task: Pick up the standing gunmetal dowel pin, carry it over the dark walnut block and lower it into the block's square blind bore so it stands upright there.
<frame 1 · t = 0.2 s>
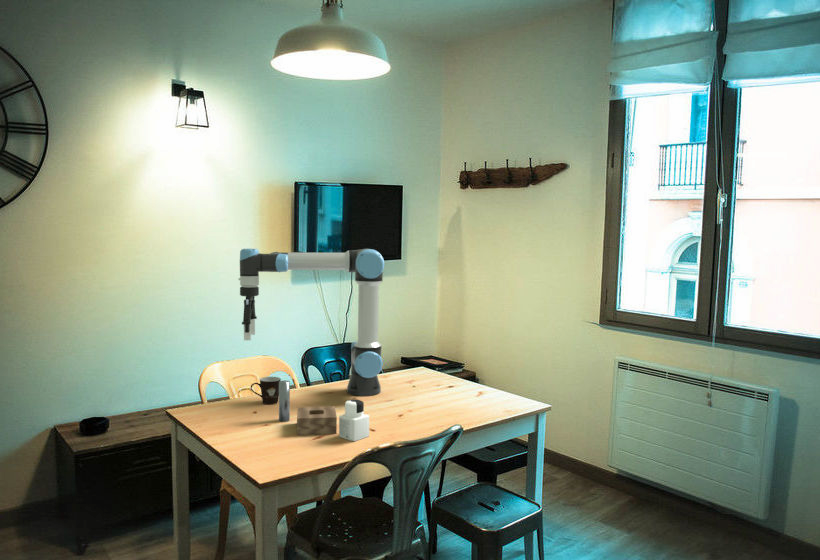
hand: (249, 337, 264), 28 cm above the table, fingers open, 13 cm apart
container: (354, 437, 226), on the table
bore block: (316, 428, 235), on the table
coffee mug: (266, 402, 268), on the table
pin: (284, 420, 244), on the table
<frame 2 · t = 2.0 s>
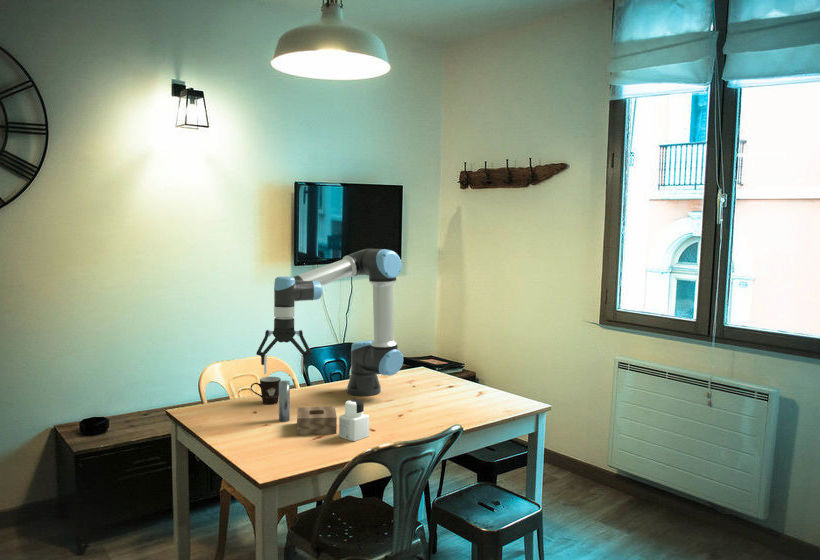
hand: (283, 373, 242), 18 cm above the table, fingers open, 13 cm apart
nothing on the table moved.
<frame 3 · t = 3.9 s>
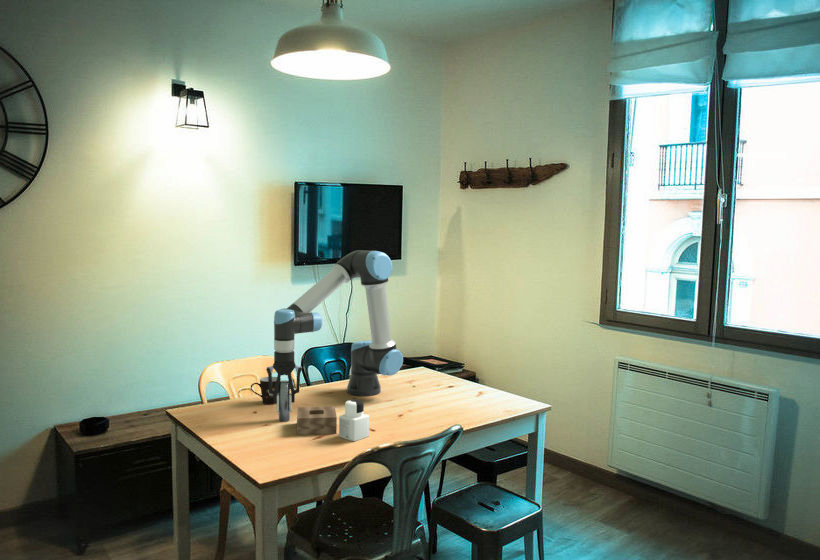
hand: (284, 410, 243), 4 cm above the table, fingers closed on pin, 4 cm apart
pin: (284, 420, 244), on the table, touching gripper
everything else where it was.
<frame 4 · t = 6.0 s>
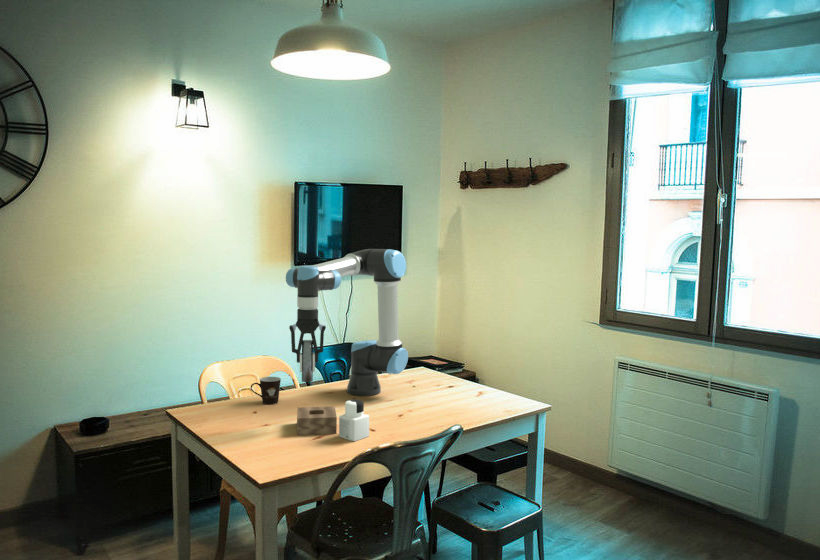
hand: (307, 371, 235), 21 cm above the table, fingers closed on pin, 4 cm apart
pin: (307, 380, 236), point 17 cm above the table, touching gripper
everything else where it was.
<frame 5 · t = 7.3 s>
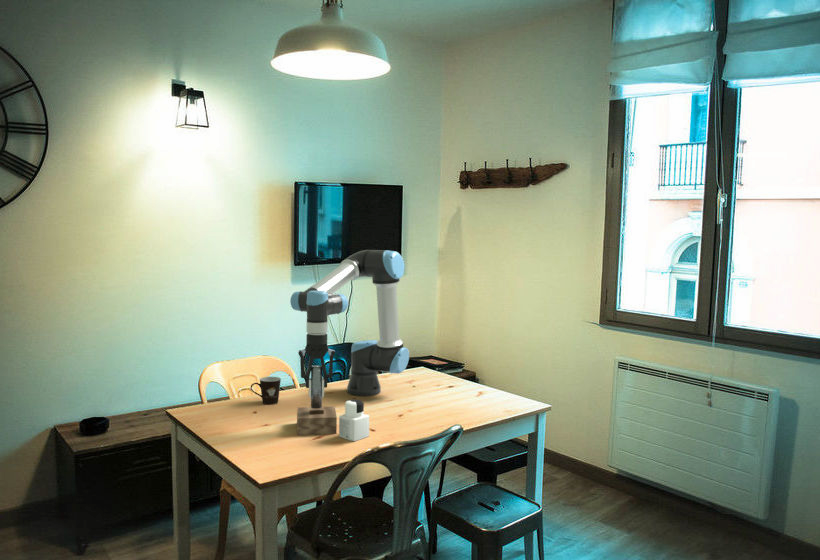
hand: (316, 396, 234), 12 cm above the table, fingers closed on pin, 4 cm apart
pin: (316, 406, 234), point 8 cm above the table, touching gripper
everything else where it was.
when the fingers open (8 cm above the table, at t = 8.3 s): pin drops 2 cm, resting on bore block.
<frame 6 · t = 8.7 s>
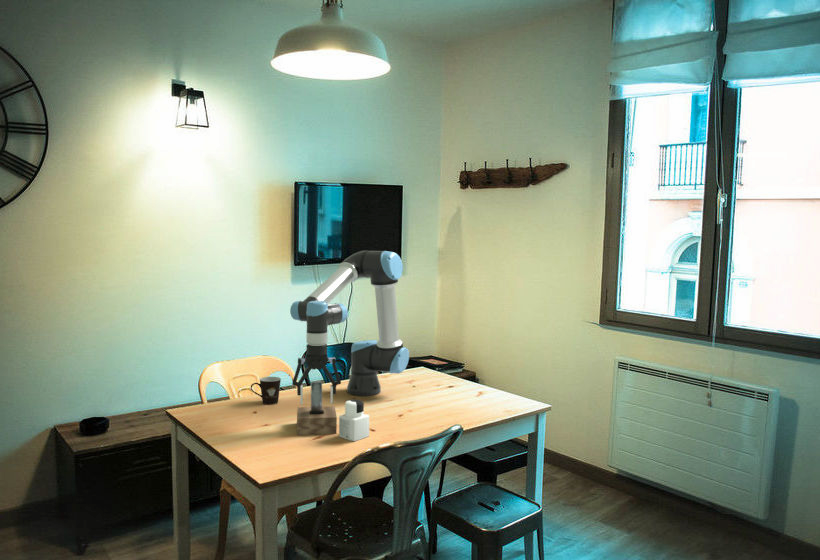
hand: (316, 403, 234), 9 cm above the table, fingers open, 10 cm apart
pin: (316, 422, 235), point 2 cm above the table, touching bore block
everything else where it was.
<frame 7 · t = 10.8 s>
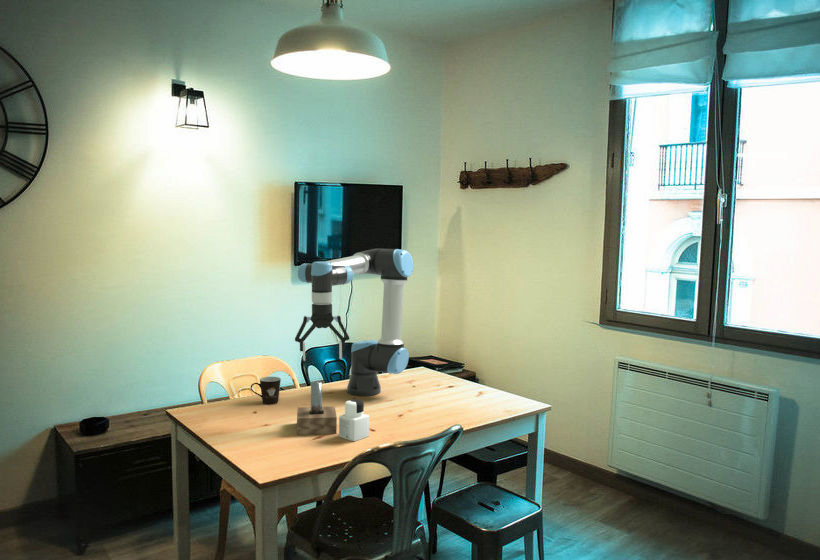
hand: (322, 359, 240), 24 cm above the table, fingers open, 13 cm apart
nothing on the table moved.
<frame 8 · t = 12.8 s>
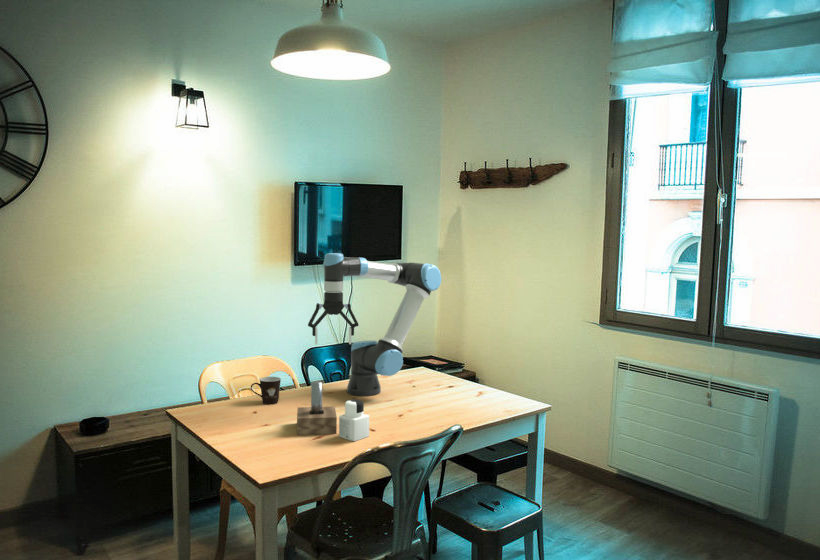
hand: (333, 343, 258), 27 cm above the table, fingers open, 13 cm apart
nothing on the table moved.
at the end: pin 0.0 cm off-centre on the bore block, point 2.1 cm above the bore block's base; pin tilted 1°; the gripper is holding nothing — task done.
